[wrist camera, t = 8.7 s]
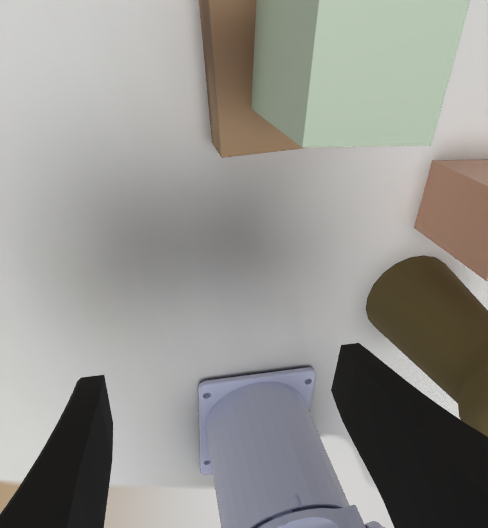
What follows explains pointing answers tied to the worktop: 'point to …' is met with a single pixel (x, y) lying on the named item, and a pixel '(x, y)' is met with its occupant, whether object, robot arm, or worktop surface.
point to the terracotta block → (458, 211)
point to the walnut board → (234, 80)
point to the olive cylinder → (437, 330)
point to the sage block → (354, 69)
